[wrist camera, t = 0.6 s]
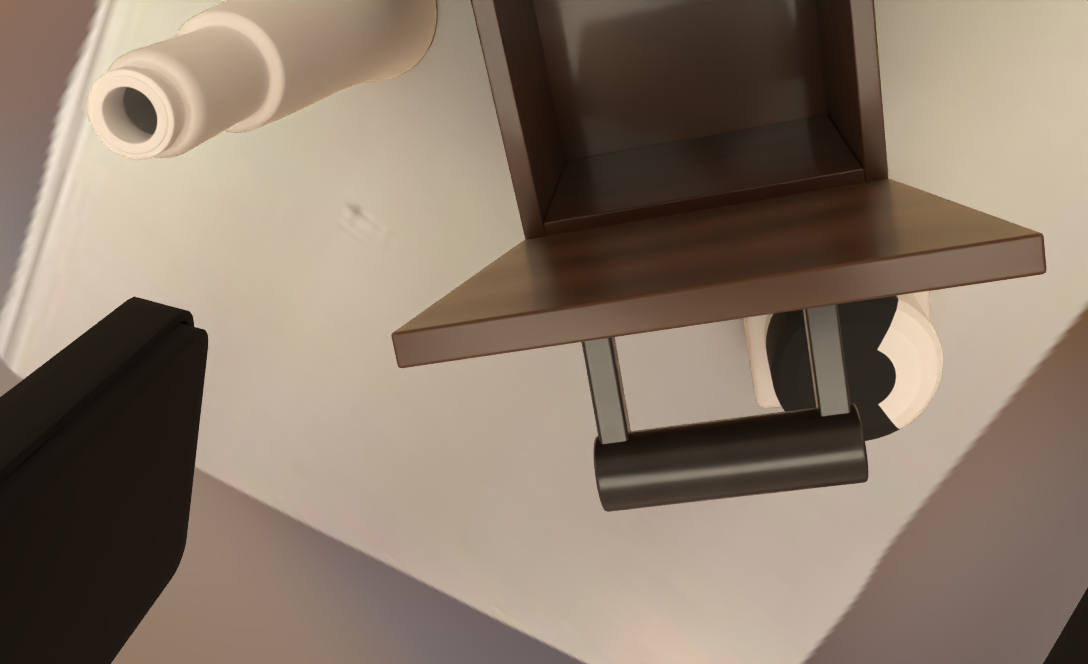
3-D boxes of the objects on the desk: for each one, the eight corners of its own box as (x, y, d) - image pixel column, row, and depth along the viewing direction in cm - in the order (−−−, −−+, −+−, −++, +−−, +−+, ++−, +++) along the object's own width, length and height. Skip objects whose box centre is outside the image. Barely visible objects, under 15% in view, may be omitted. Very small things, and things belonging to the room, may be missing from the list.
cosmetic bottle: (337, 97, 46) (88, 262, 26) (280, -35, 44) (-38, 36, 24) (458, 53, 45) (290, 192, 25) (405, -86, 43) (176, -54, 23)
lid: (389, 333, 22) (439, 567, 23) (1043, 232, 19) (1068, 500, 20) (523, 239, 37) (549, 380, 38) (890, 178, 35) (908, 329, 36)
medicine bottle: (745, 341, 49) (767, 473, 38) (729, 200, 46) (748, 299, 35) (899, 324, 48) (966, 455, 37) (892, 177, 45) (962, 272, 34)
